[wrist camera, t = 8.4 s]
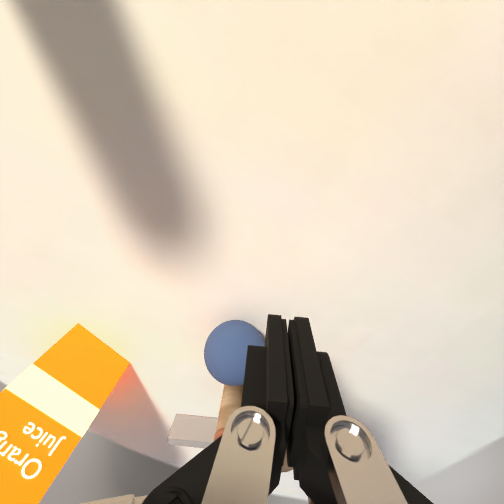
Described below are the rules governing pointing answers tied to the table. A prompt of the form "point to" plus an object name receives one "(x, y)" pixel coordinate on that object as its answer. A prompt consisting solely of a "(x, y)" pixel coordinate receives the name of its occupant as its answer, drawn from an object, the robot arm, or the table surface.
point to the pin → (228, 406)
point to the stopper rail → (192, 431)
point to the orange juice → (52, 412)
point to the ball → (230, 351)
